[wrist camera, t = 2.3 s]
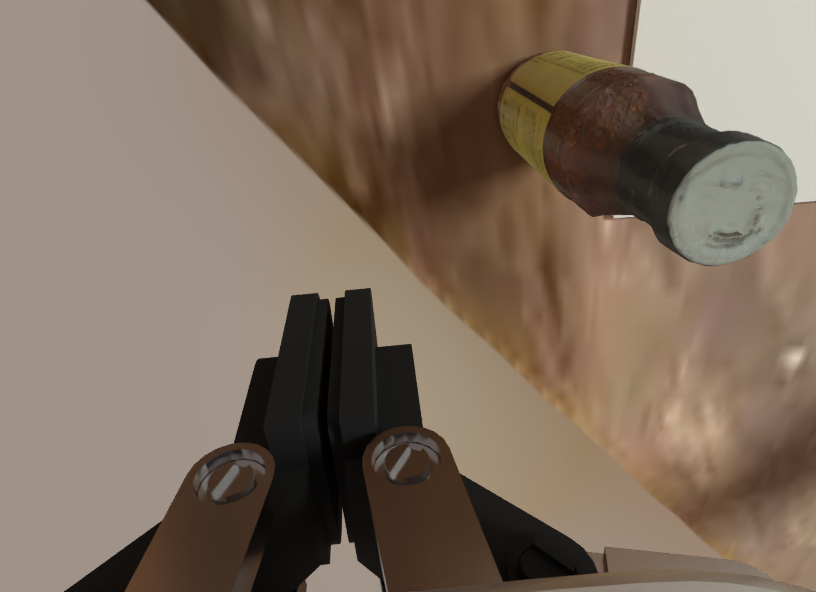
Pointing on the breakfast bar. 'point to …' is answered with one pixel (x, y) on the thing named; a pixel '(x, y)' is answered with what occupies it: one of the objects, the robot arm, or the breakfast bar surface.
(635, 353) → the breakfast bar surface
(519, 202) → the breakfast bar surface
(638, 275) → the breakfast bar surface
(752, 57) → the mat
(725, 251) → the sauce bottle
